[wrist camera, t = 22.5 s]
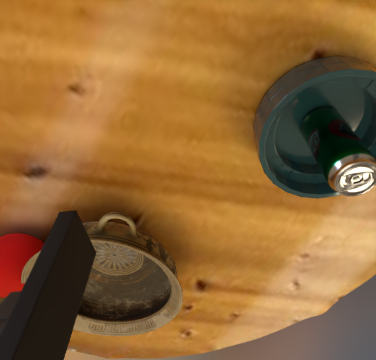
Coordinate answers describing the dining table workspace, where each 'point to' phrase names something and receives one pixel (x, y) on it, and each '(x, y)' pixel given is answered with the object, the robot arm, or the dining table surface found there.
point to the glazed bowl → (304, 105)
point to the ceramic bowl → (125, 281)
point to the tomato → (15, 260)
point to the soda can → (339, 152)
